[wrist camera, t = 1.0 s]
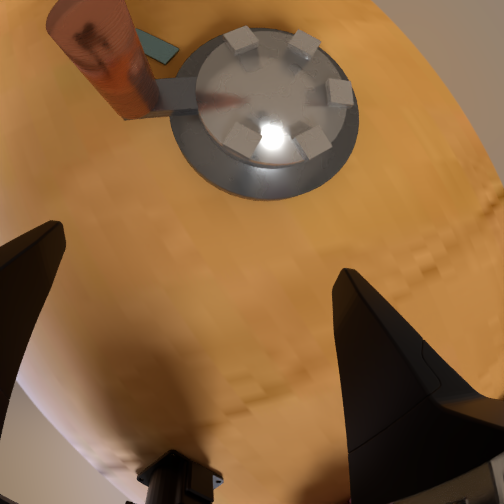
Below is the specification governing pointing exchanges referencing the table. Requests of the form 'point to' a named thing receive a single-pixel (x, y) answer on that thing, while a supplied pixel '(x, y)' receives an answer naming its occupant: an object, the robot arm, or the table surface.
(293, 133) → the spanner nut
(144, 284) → the table surface
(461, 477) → the robot arm
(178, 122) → the flange base
